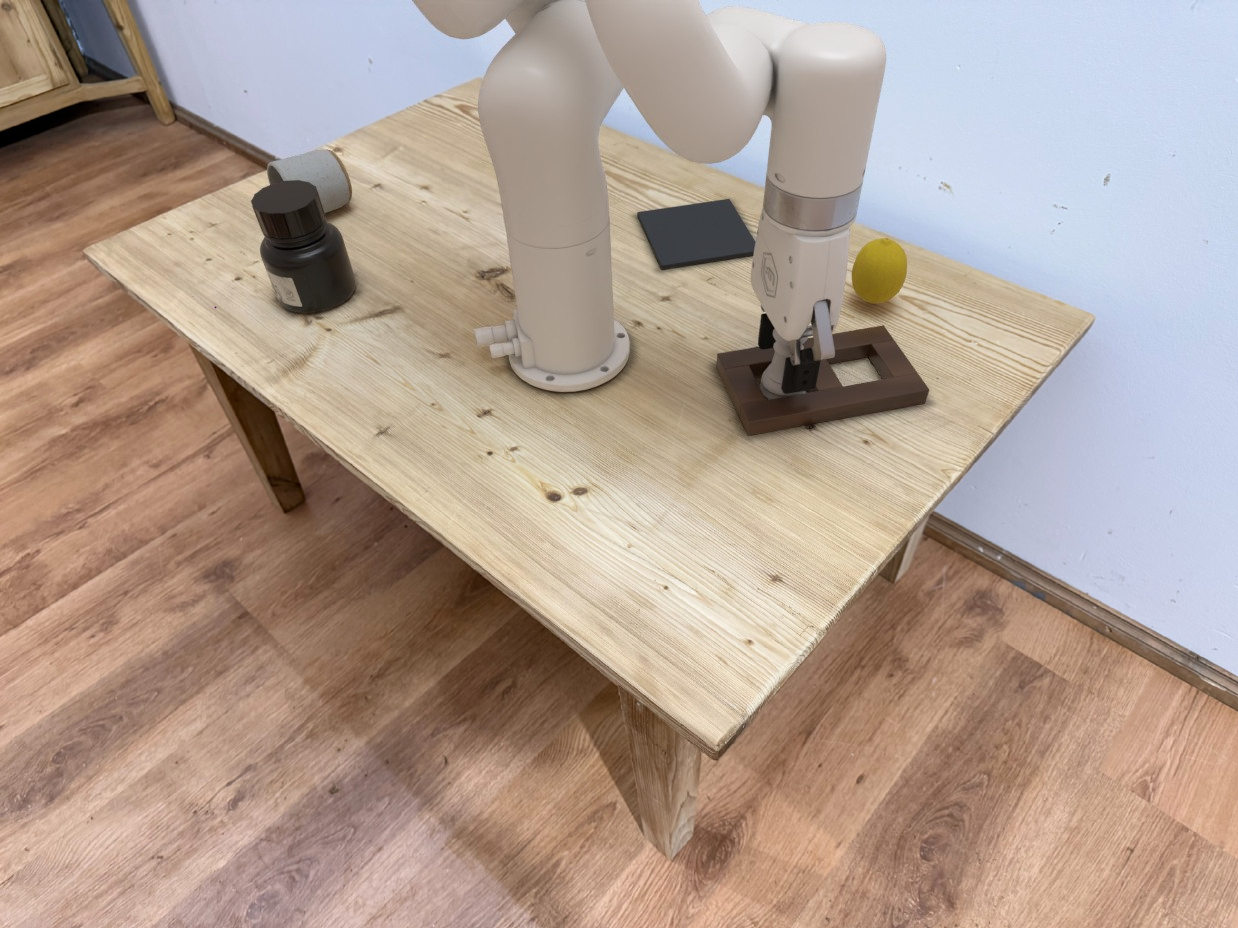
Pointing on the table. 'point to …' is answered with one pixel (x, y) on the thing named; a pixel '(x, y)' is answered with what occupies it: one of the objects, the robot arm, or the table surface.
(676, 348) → the table surface
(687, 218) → the mat
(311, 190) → the ink bottle
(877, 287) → the lemon
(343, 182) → the ceramic mug
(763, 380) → the rook chess piece
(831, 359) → the frame
